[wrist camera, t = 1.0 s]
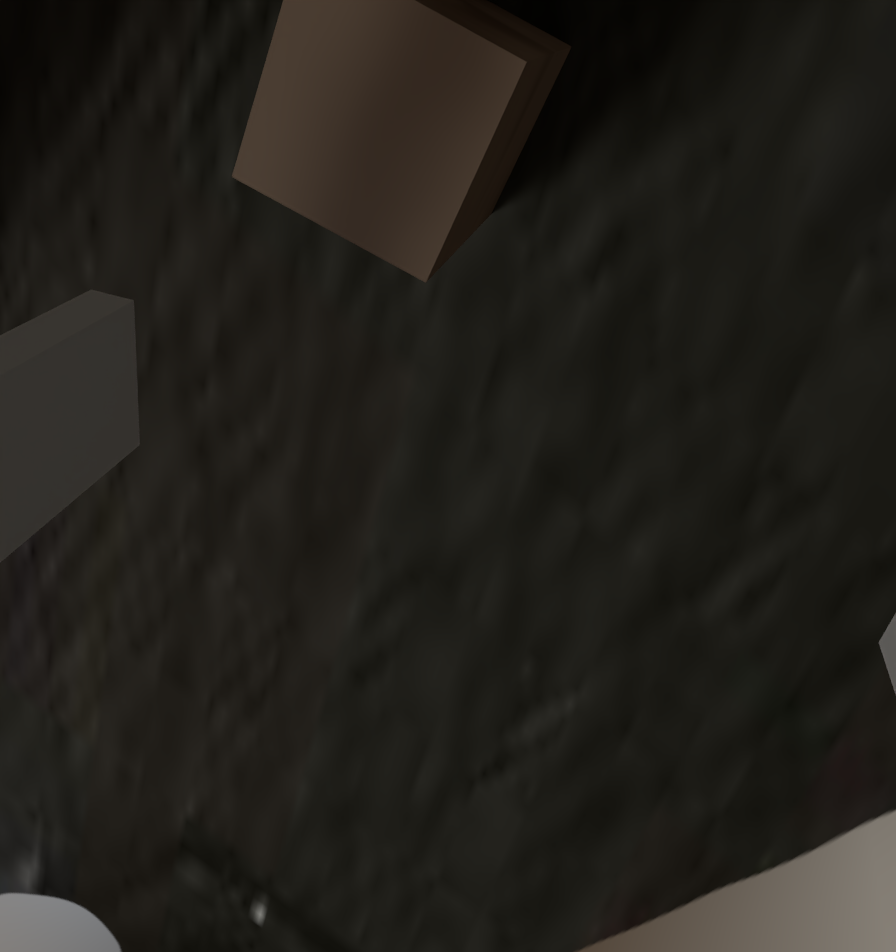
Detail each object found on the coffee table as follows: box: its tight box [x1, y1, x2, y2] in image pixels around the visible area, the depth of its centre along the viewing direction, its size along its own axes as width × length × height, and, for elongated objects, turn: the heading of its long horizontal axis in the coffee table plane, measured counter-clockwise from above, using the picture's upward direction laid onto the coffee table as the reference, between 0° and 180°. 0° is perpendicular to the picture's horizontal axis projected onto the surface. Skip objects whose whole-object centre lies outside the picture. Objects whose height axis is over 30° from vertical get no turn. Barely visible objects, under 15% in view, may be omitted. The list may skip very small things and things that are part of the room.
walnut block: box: [232, 0, 571, 282], centre depth 25 cm, size 6×6×9 cm
